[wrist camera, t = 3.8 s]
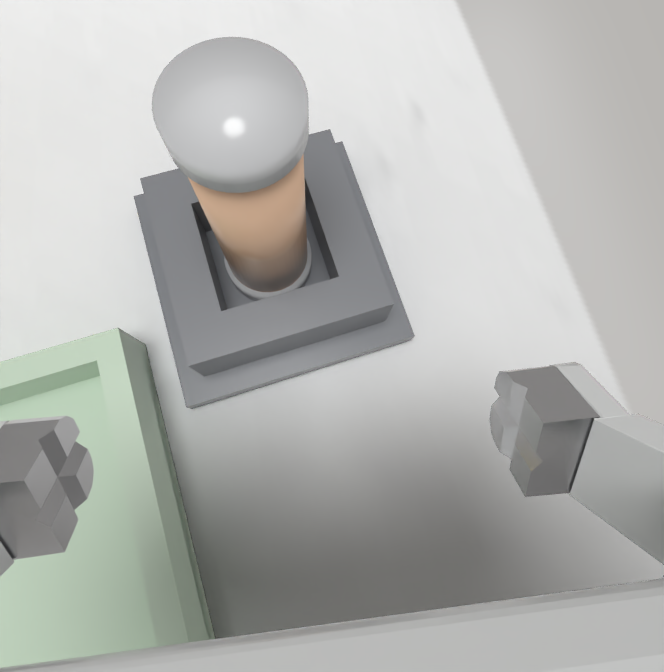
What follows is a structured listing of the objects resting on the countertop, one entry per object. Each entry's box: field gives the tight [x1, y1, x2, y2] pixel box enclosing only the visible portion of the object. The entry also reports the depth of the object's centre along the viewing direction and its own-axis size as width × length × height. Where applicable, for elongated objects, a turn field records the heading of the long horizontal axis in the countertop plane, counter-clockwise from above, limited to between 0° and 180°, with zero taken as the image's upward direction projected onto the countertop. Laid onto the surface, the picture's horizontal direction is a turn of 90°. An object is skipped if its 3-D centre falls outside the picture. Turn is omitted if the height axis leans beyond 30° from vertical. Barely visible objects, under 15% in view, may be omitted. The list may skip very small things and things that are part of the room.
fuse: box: [152, 37, 312, 301], centre depth 19 cm, size 4×4×12 cm
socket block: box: [134, 129, 414, 409], centre depth 24 cm, size 12×12×4 cm
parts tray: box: [0, 328, 215, 668], centre depth 20 cm, size 18×15×4 cm
